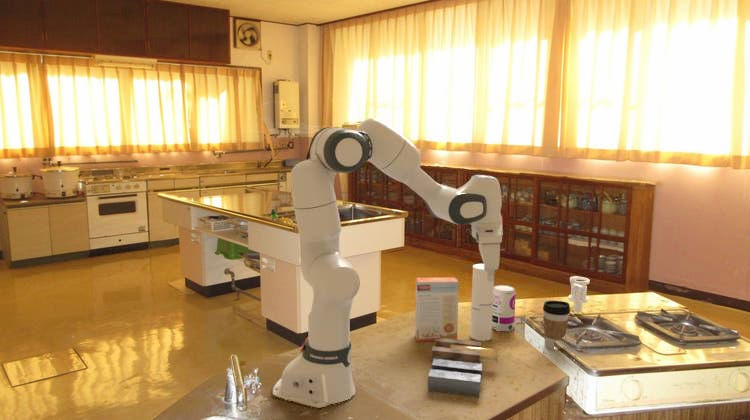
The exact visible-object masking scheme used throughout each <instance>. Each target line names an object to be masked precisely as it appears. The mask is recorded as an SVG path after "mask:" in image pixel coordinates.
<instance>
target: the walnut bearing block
mask: <svg viewBox="0 0 750 420" xmlns="http://www.w3.org/2000/svg"><path fill="white" fill-rule="evenodd" d="M451 344H452V345H462V346H471V347H481V348H482V341H477V340H474V341H473V340H465V339H458V338H457V339H447V338H437V337H436V340H435V341H434V346H432V348H431V363H430V364H431V367H430V369H432V363H433V360H434V359H442V360H451V361H460V362H469V363H478V364H481V361H482V360H480V351H471V350H462V349H452V348H450V345H451Z"/></svg>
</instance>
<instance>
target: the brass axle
mask: <svg viewBox="0 0 750 420" xmlns="http://www.w3.org/2000/svg"><path fill="white" fill-rule="evenodd" d="M450 348H452V349H462V350H471V351H480V360H481V361H489V362H498V348H490V347H482V346H481V347H471V346H462V345H452V344H451V345H450Z"/></svg>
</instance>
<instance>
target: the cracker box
mask: <svg viewBox="0 0 750 420" xmlns="http://www.w3.org/2000/svg"><path fill="white" fill-rule="evenodd" d="M459 283H460V281H458V279H457V278H456V277H451V276H449V277H447V276H445V277H415V297H414V298H415V303H414V305H415V309H414V311H415V312H414V313H415V318H414V321H415V322H414V323H415V324H414V333H415V334H414V336H415V339H416V342H435V340H436V337H437V338H447V339H457V340H458V322H459V321H458V317H459V315H458V314H459Z"/></svg>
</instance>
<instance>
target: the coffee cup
mask: <svg viewBox="0 0 750 420" xmlns="http://www.w3.org/2000/svg"><path fill="white" fill-rule="evenodd" d="M570 308H571V305H570V303H569V302H567V301H562V300H560V301H559V300H547V301H545V302H544V303H543V307H542V310H543V328H544V329H543V330H544V331H543V333H544V346H545V348H547V349H549V350H553V351H555V350H554V342H556V341H559V340H561V339H562V337H564V336H565V335H567V329H568V323H569V315H570V314H571V309H570ZM565 337H566V336H565Z"/></svg>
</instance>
